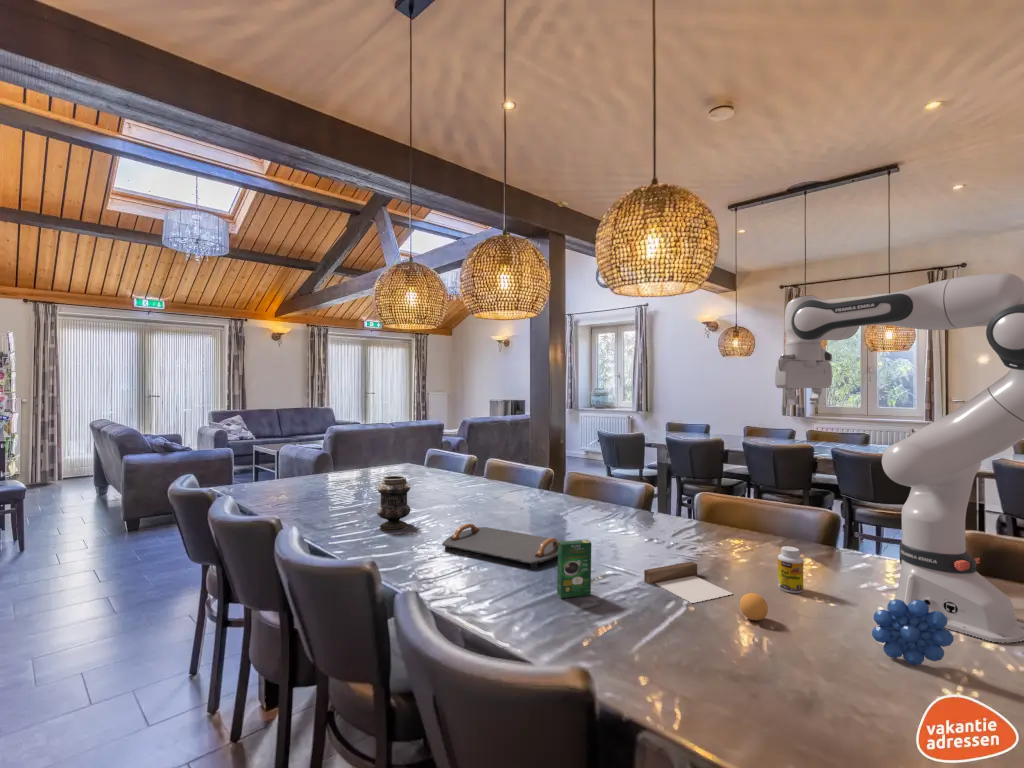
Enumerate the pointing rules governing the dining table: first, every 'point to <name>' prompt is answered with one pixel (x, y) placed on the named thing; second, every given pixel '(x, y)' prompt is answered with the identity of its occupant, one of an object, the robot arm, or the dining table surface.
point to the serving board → (504, 544)
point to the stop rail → (670, 572)
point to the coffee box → (574, 568)
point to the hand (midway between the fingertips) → (804, 404)
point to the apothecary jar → (393, 501)
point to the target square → (693, 589)
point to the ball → (753, 606)
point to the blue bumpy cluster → (912, 631)
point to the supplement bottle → (790, 570)
